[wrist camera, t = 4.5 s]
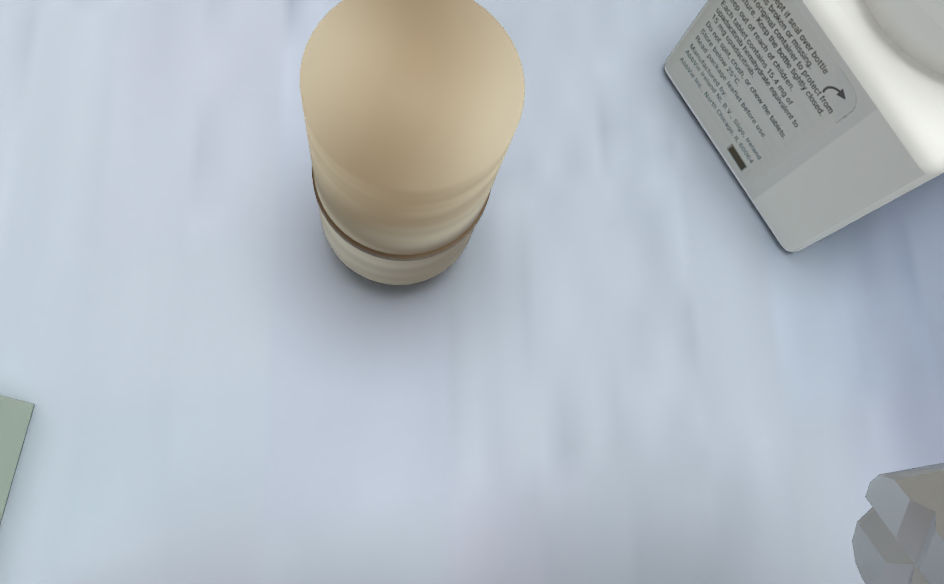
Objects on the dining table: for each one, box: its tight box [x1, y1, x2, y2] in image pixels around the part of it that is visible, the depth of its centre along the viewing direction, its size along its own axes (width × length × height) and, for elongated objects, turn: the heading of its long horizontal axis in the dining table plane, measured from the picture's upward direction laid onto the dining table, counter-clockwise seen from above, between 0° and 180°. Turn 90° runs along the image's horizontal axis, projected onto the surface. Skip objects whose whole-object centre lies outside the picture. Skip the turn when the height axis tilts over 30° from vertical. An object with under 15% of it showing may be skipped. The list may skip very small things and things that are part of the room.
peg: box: [300, 0, 525, 285], centre depth 21 cm, size 4×4×10 cm
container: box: [665, 0, 944, 252], centre depth 23 cm, size 8×8×13 cm
